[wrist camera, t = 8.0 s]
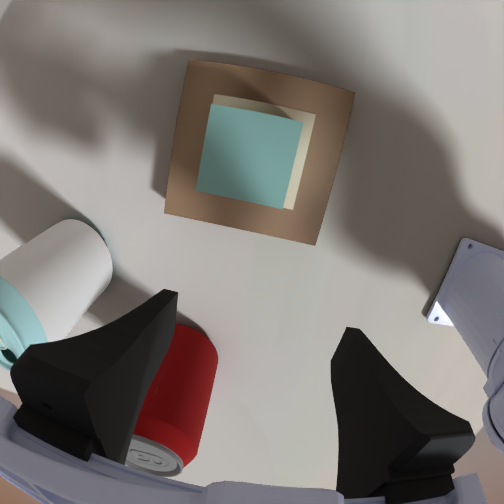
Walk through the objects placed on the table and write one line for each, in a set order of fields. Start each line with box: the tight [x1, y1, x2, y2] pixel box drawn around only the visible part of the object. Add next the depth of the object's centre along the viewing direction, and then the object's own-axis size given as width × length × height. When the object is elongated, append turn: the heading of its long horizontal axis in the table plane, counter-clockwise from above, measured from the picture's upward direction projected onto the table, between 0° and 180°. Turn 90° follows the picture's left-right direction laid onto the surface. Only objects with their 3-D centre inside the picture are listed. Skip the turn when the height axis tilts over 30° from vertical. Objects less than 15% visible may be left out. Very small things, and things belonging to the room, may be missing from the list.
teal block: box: [196, 104, 304, 209], centre depth 15 cm, size 4×4×5 cm
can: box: [0, 219, 113, 371], centre depth 19 cm, size 7×7×12 cm
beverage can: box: [125, 324, 218, 477], centre depth 22 cm, size 7×7×12 cm
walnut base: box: [164, 60, 355, 246], centre depth 19 cm, size 10×10×2 cm
